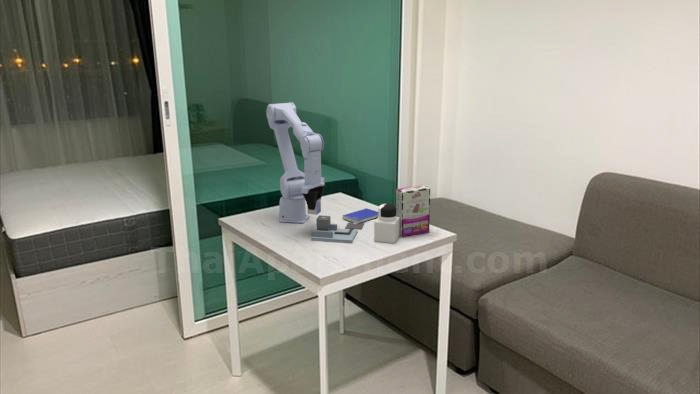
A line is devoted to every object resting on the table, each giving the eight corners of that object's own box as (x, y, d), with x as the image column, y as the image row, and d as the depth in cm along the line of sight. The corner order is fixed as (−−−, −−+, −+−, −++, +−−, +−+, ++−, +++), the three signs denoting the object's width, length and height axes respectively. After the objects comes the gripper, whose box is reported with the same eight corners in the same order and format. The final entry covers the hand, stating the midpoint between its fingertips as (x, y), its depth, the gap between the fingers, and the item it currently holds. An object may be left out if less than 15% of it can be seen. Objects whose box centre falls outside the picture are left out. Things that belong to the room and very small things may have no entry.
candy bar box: (422, 228, 190) (423, 184, 185) (429, 232, 186) (431, 188, 181) (394, 232, 186) (395, 188, 181) (401, 237, 182) (402, 192, 177)
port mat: (345, 228, 190) (345, 227, 190) (348, 222, 196) (348, 222, 196) (361, 229, 189) (361, 228, 189) (364, 223, 195) (364, 223, 195)
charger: (316, 234, 183) (316, 219, 181) (319, 230, 186) (319, 215, 185) (328, 234, 182) (327, 219, 180) (330, 230, 186) (330, 215, 184)
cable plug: (307, 213, 185) (307, 198, 183) (311, 210, 188) (311, 195, 186) (316, 214, 183) (316, 199, 182) (320, 211, 187) (320, 196, 185)
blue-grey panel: (311, 240, 180) (311, 232, 179) (320, 227, 192) (320, 219, 191) (351, 243, 177) (351, 234, 176) (358, 229, 189) (358, 221, 188)
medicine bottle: (399, 236, 183) (400, 203, 179) (394, 243, 177) (395, 209, 173) (379, 233, 185) (380, 201, 182) (373, 241, 179) (374, 207, 175)
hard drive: (357, 219, 193) (381, 212, 202) (342, 214, 199) (365, 207, 207) (357, 223, 194) (381, 216, 202) (342, 218, 200) (365, 211, 208)
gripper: (314, 176, 173) (315, 215, 177) (332, 166, 186) (332, 202, 190) (295, 174, 176) (296, 213, 180) (313, 164, 189) (314, 200, 193)
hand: (314, 207), depth 185 cm, fingers closed on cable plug, 3 cm apart
